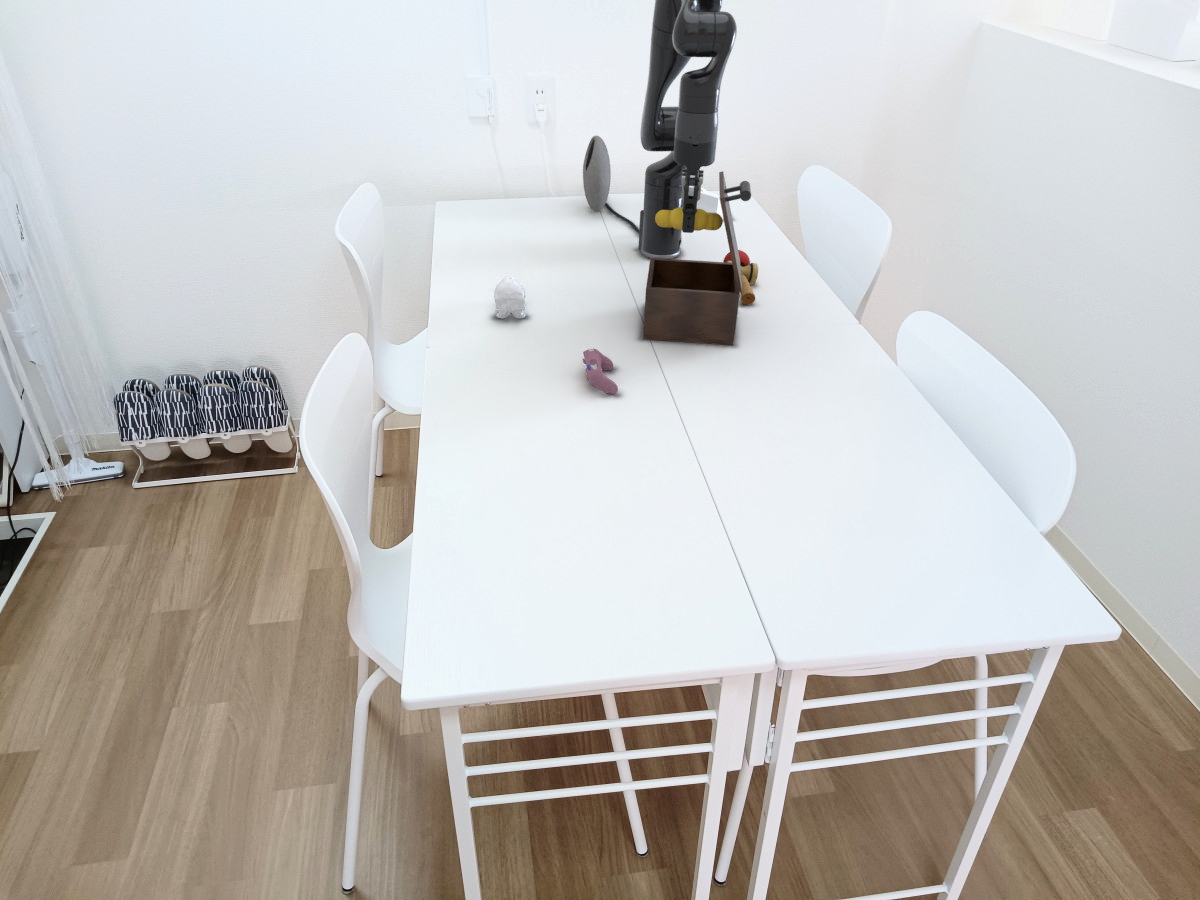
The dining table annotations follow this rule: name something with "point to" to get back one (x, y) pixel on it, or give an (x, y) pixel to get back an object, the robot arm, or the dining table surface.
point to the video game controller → (599, 370)
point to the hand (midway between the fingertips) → (688, 227)
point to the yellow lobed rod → (676, 219)
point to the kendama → (746, 276)
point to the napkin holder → (710, 202)
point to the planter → (596, 174)
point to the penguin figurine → (509, 298)
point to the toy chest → (691, 301)
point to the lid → (724, 200)
